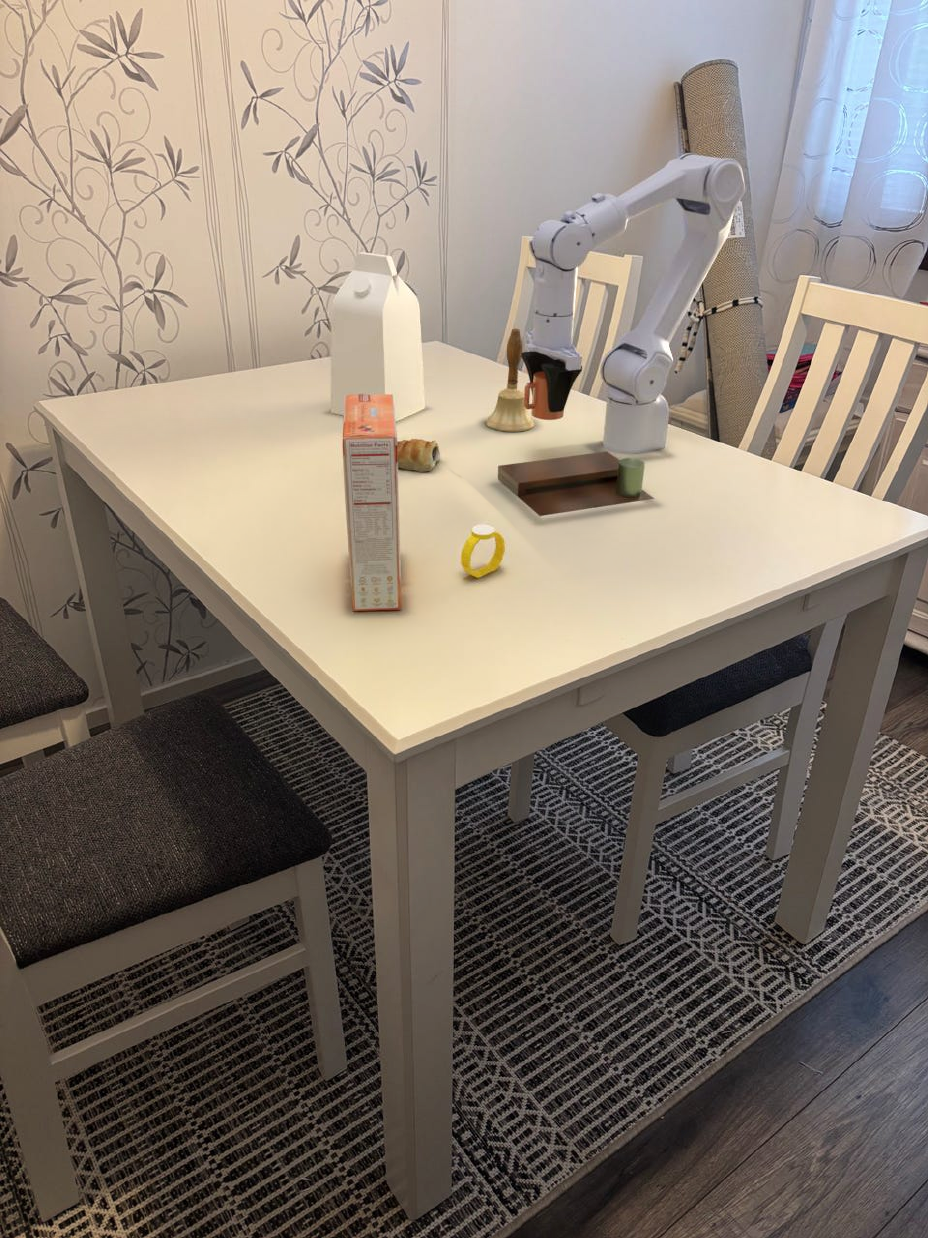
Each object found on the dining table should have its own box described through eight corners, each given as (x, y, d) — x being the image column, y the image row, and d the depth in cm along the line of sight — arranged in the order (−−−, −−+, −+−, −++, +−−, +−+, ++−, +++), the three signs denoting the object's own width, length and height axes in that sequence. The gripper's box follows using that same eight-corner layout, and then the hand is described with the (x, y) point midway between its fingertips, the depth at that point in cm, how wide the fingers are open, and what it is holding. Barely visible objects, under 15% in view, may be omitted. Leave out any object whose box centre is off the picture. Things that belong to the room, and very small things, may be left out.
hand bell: (536, 418, 168) (542, 324, 160) (531, 434, 161) (537, 337, 153) (489, 414, 170) (492, 321, 162) (482, 430, 163) (485, 333, 155)
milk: (425, 408, 172) (425, 253, 159) (386, 425, 163) (383, 264, 150) (370, 396, 177) (366, 245, 164) (330, 412, 169) (322, 255, 156)
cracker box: (350, 557, 121) (343, 392, 110) (399, 556, 121) (396, 391, 111) (348, 613, 109) (340, 434, 98) (402, 612, 109) (399, 433, 99)
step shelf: (605, 469, 148) (606, 451, 147) (653, 504, 137) (656, 484, 135) (497, 484, 142) (497, 465, 141) (539, 522, 131) (540, 502, 129)
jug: (557, 407, 148) (560, 368, 145) (572, 417, 144) (575, 377, 141) (516, 412, 146) (518, 373, 143) (530, 422, 142) (532, 382, 139)
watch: (492, 562, 120) (494, 518, 117) (508, 570, 119) (510, 525, 116) (456, 576, 117) (457, 531, 114) (471, 585, 115) (473, 539, 112)
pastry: (371, 467, 147) (371, 443, 145) (384, 452, 153) (384, 429, 151) (432, 473, 145) (432, 449, 143) (442, 458, 151) (442, 434, 149)
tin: (632, 486, 140) (636, 456, 138) (646, 495, 137) (649, 465, 135) (611, 489, 139) (614, 459, 137) (623, 498, 136) (627, 468, 134)
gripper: (507, 302, 142) (503, 393, 149) (552, 325, 130) (545, 423, 137) (550, 299, 144) (544, 389, 151) (598, 322, 133) (589, 418, 140)
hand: (548, 405), depth 144 cm, fingers closed on jug, 5 cm apart
